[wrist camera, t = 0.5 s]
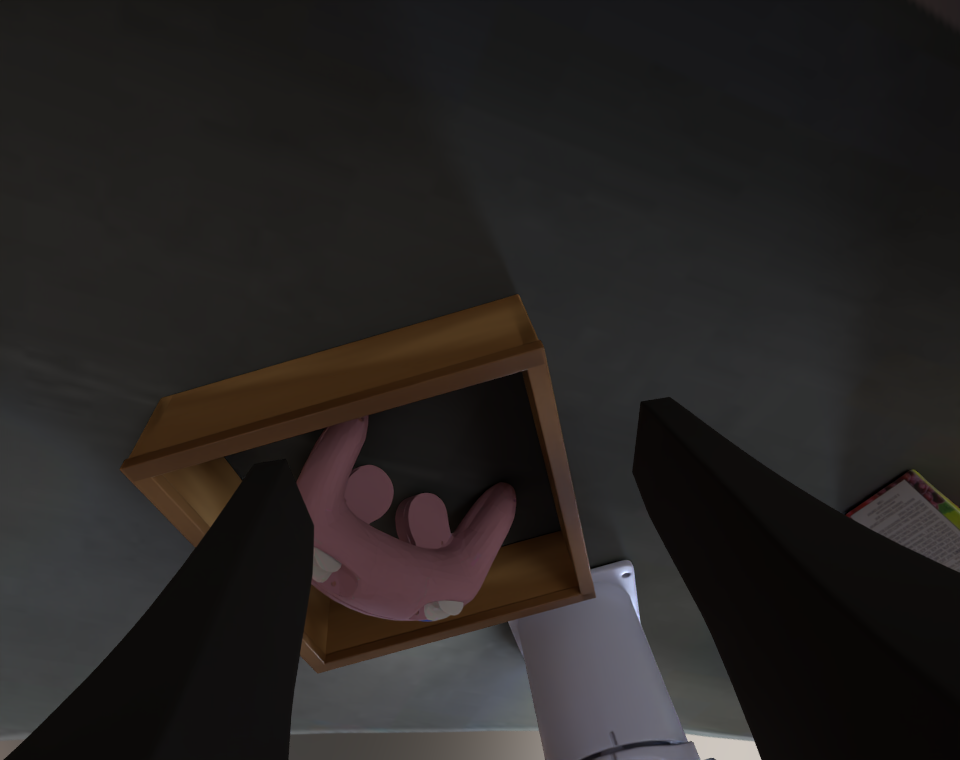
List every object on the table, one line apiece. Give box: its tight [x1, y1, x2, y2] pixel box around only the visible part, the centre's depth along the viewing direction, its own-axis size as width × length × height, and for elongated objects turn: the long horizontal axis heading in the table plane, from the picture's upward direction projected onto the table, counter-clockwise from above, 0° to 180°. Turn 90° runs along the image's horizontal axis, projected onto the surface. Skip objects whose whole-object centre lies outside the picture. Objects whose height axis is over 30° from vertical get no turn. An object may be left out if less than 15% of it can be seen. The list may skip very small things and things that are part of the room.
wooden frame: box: [120, 294, 596, 673], centre depth 23 cm, size 15×14×4 cm
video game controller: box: [296, 415, 516, 622], centre depth 23 cm, size 10×5×7 cm, turn 48°
